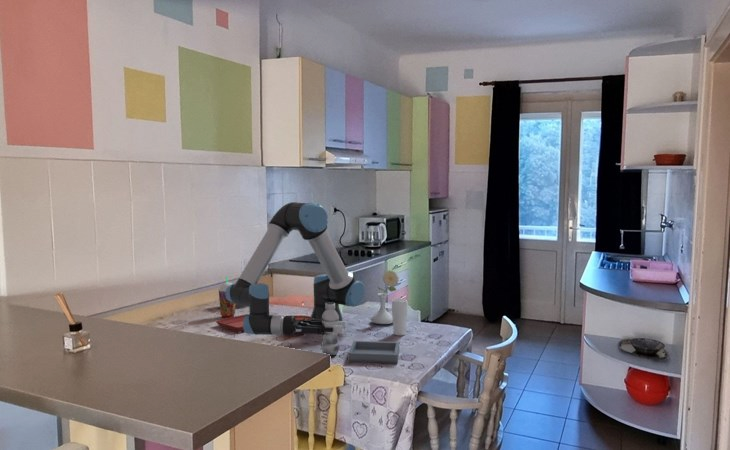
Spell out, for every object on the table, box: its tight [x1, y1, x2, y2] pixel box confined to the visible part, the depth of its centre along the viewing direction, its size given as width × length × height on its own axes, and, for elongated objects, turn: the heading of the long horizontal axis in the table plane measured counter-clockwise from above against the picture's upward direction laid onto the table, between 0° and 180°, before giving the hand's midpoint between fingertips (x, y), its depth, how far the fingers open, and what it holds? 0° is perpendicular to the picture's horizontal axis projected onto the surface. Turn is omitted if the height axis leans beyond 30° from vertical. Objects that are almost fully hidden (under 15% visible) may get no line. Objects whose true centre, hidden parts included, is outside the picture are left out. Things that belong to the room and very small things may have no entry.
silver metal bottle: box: [321, 303, 340, 357], centre depth 213 cm, size 6×7×20 cm
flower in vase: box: [370, 269, 400, 325], centre depth 261 cm, size 13×11×25 cm
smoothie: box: [218, 276, 236, 319], centre depth 272 cm, size 8×8×20 cm
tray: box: [347, 340, 400, 365], centre depth 212 cm, size 16×18×4 cm
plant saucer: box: [215, 313, 249, 333], centre depth 256 cm, size 18×18×3 cm
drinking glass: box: [391, 298, 409, 337], centre depth 242 cm, size 7×7×15 cm
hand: (343, 327), depth 212 cm, fingers closed on silver metal bottle, 6 cm apart
